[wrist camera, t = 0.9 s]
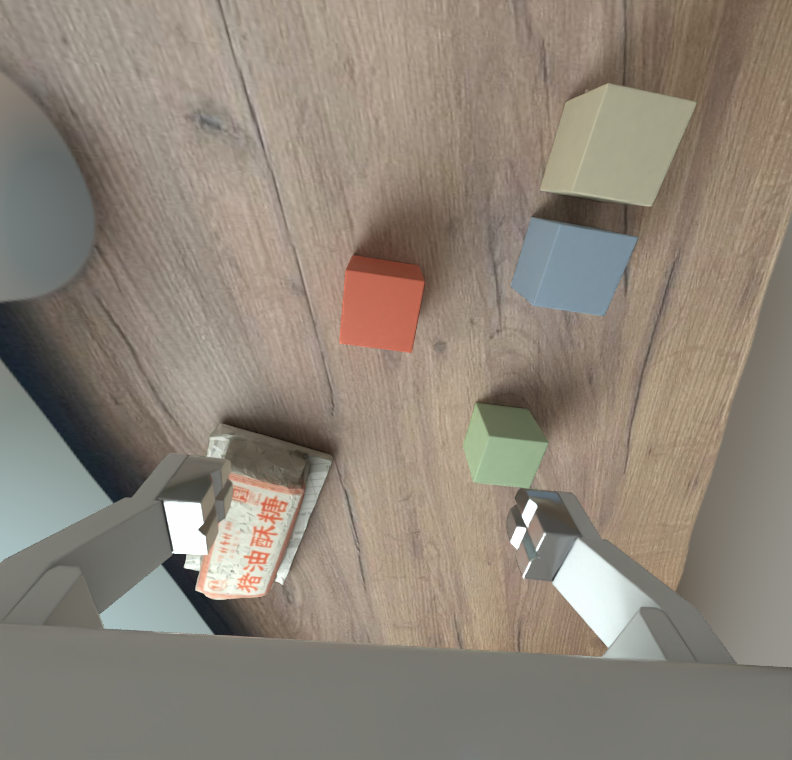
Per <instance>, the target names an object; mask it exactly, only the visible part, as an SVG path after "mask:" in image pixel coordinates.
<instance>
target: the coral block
mask: <svg viewBox="0 0 792 760" xmlns="http://www.w3.org/2000/svg"><path fill="white" fill-rule="evenodd" d="M424 286H425V280H424V277H423V275H422V272H421V270H420V267H419V265H414V264H408V263H401V262H395V261H388V260H382V259H375V258H369V257H362V256H356V255H352V257H351V260H350V262H349V264H348V266H347V268H346V272H345V283H344V295H343V306H342V318H341V329H340V341H339V342H340V343H341V344H349V345H356V346H364V347H371V348H379V349H387V350H394V351H402V352H409V353H411V352H412V349H413V344H414V339H415V333H416V328H417V323H418V317H419V312H420V307H421V302H422V296H423V291H424Z"/></svg>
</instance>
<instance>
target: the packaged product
mask: <svg viewBox="0 0 792 760" xmlns="http://www.w3.org/2000/svg"><path fill="white" fill-rule="evenodd" d="M206 457H213V458H221V459H228V460H230V461H231V468H232V471H231V473H230V475H229V477H228V478H229V479H230V480H231V482H232V483H233V498H232V502H231V505H230V509H229V511H228V513H227V516H226V518H225V519H223V520H222V521H220V522H219V523H218V531H219V533H218V535H217V537H216V539H215V541H214V543H213V545H212V547H211V549H210V551H209V553H208V555H207V554H187V556H186V562H185V566H184V568H187V569H193V570H199V571H200V573H199V576H198V579H197V584H196V590H197V591H199V592H201V593H204V594H205V595H206V596H207V597H209V598H211V599H216V600H225V599H234V598H243V597H244V598H247V597H249V598H254V597H260V596H265V595H266V594H267V593H268V592H270V590H271V589H272V587H273V586H274V583H275V581H277V582H279V583H281V584H282V585H283V583H284V580H285V578H286V576H287V574H288V571H289V569H290V566H291V564H292V561H293V558H294V556H295V554H296V551H297V549H298V546H299V544H300V541H301V538H302V536H303V533H304V531H305V529H306V526H307V524H308V520H309V517H310V515H311V513H312V510H313V508H314V506H315V504H316V501H317V499H318V496H319V493H320V491H321V488H322V486H323V483H324V481H325V478H326V475H327V473H328V471H329V469H330V466H331V464H332V461H333V457H332V456H331V455H330V454H326V453H323V452H319V451H316V450H313V449H309V448H306V447H303V446H299V445H296V444H292V443H289V442H286V441H282V440H279V439H275V438H272V437H268V436H265V435H261V434H258V433H254V432H251V431H247V430H243V429H240V428H236V427H233V426H229V425H226V424H222V423H220V424H219V425H218V426H217V428H216V429H215V430H214V431H213V432H212V434H211V435H210V439H209V445H208V450H207V455H206Z"/></svg>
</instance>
